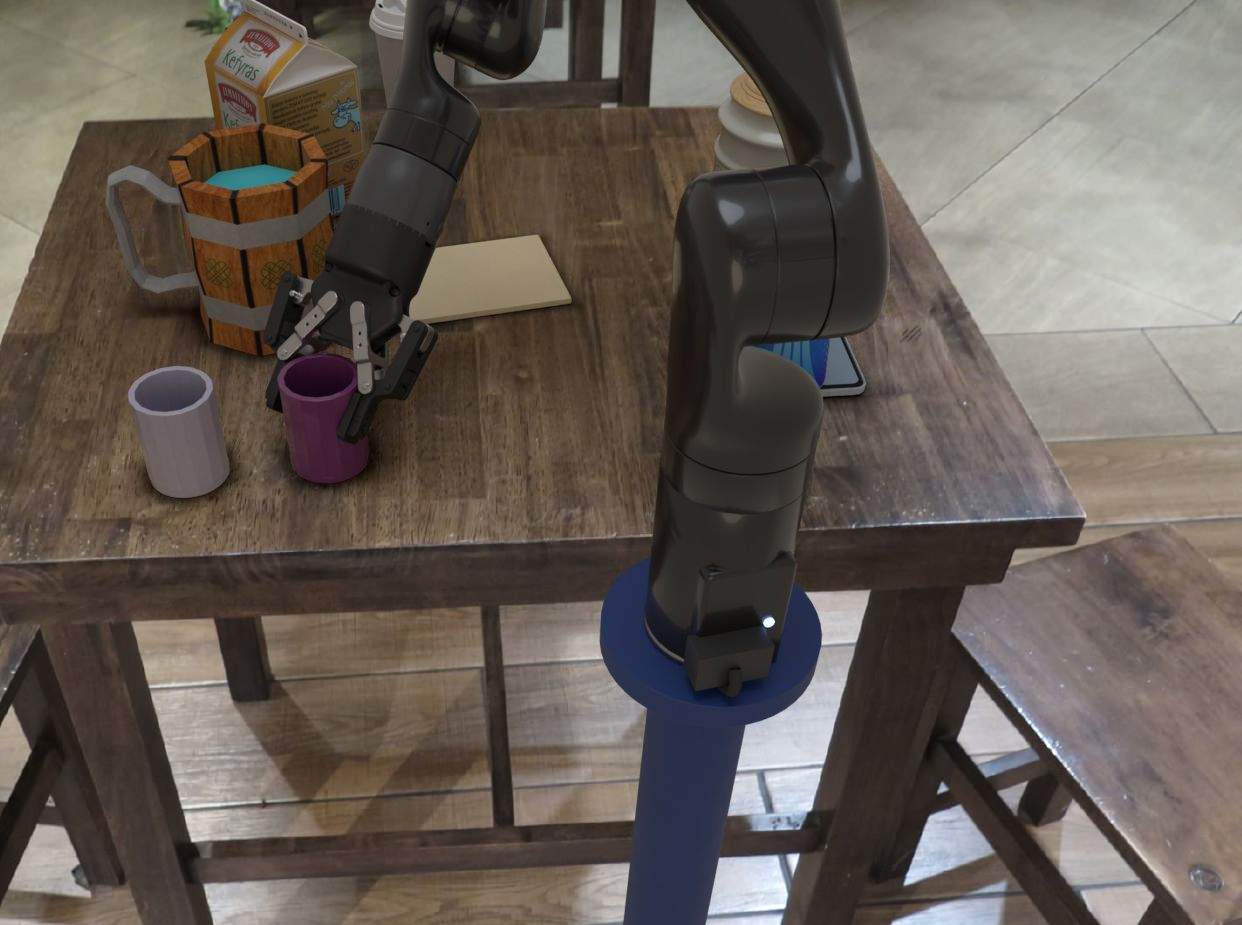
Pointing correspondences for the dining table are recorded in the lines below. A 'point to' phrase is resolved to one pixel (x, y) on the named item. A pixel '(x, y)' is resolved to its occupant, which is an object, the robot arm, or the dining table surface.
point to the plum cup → (320, 417)
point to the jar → (747, 130)
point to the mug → (238, 224)
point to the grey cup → (179, 431)
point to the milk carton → (289, 89)
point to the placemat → (488, 280)
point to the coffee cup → (398, 43)
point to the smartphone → (842, 370)
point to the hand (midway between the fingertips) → (310, 425)
